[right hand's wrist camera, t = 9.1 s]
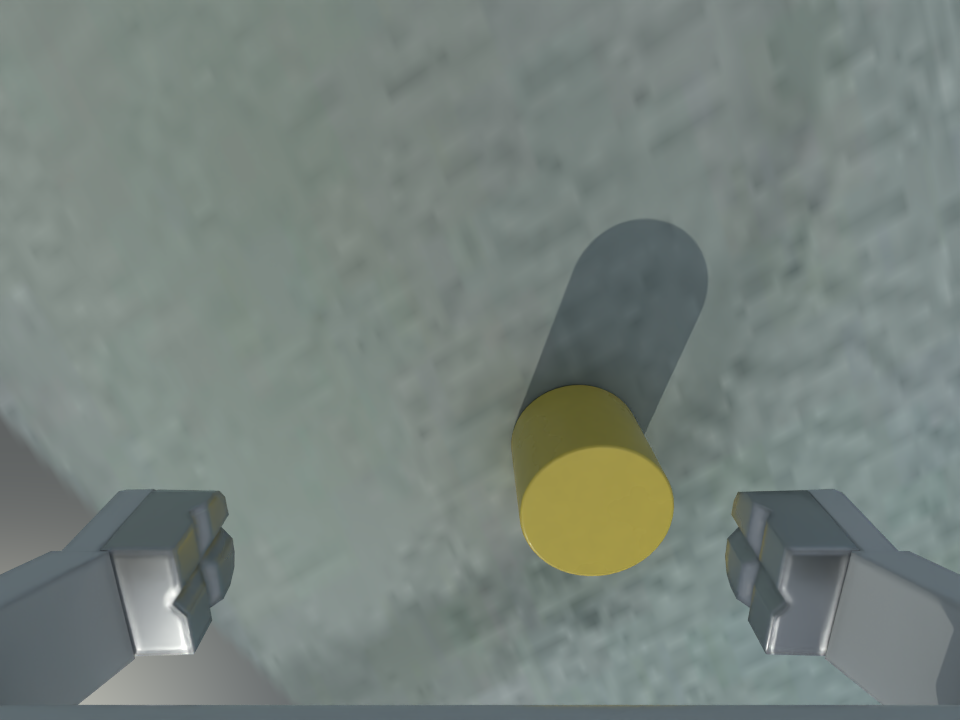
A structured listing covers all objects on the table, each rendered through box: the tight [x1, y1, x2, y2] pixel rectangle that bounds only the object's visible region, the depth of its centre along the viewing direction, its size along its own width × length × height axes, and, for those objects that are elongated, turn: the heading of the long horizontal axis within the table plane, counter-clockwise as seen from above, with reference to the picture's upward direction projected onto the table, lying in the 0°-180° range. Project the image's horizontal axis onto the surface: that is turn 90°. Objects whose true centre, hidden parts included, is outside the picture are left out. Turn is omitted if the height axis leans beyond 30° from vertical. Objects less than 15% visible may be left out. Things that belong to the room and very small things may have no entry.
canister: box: [511, 385, 674, 576], centre depth 21 cm, size 4×4×4 cm
